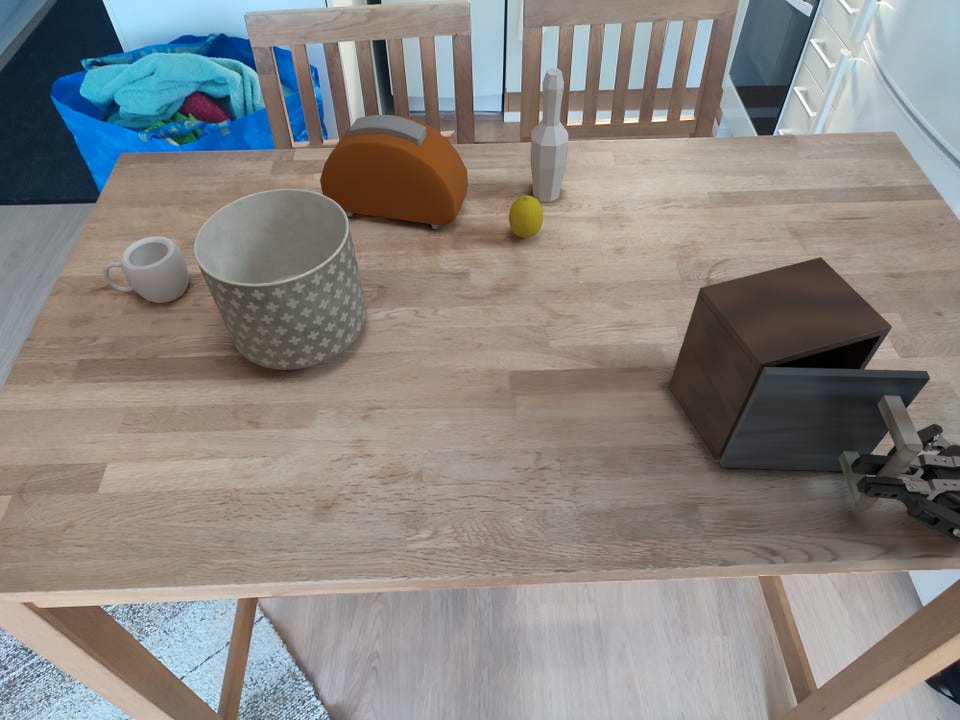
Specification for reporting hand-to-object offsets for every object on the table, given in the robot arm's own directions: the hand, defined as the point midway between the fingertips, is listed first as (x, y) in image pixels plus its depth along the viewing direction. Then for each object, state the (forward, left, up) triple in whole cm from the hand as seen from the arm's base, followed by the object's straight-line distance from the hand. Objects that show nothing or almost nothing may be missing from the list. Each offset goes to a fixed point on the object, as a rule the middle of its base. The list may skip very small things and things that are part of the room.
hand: (857, 474), depth 68 cm
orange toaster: (+78, -13, -9) cm, 80 cm away
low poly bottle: (+60, -32, -9) cm, 69 cm away
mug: (+94, +25, -9) cm, 98 cm away
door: (+4, -1, -9) cm, 10 cm away
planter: (+69, +17, -9) cm, 72 cm away
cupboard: (+13, -9, -9) cm, 19 cm away
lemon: (+56, -20, -9) cm, 61 cm away
